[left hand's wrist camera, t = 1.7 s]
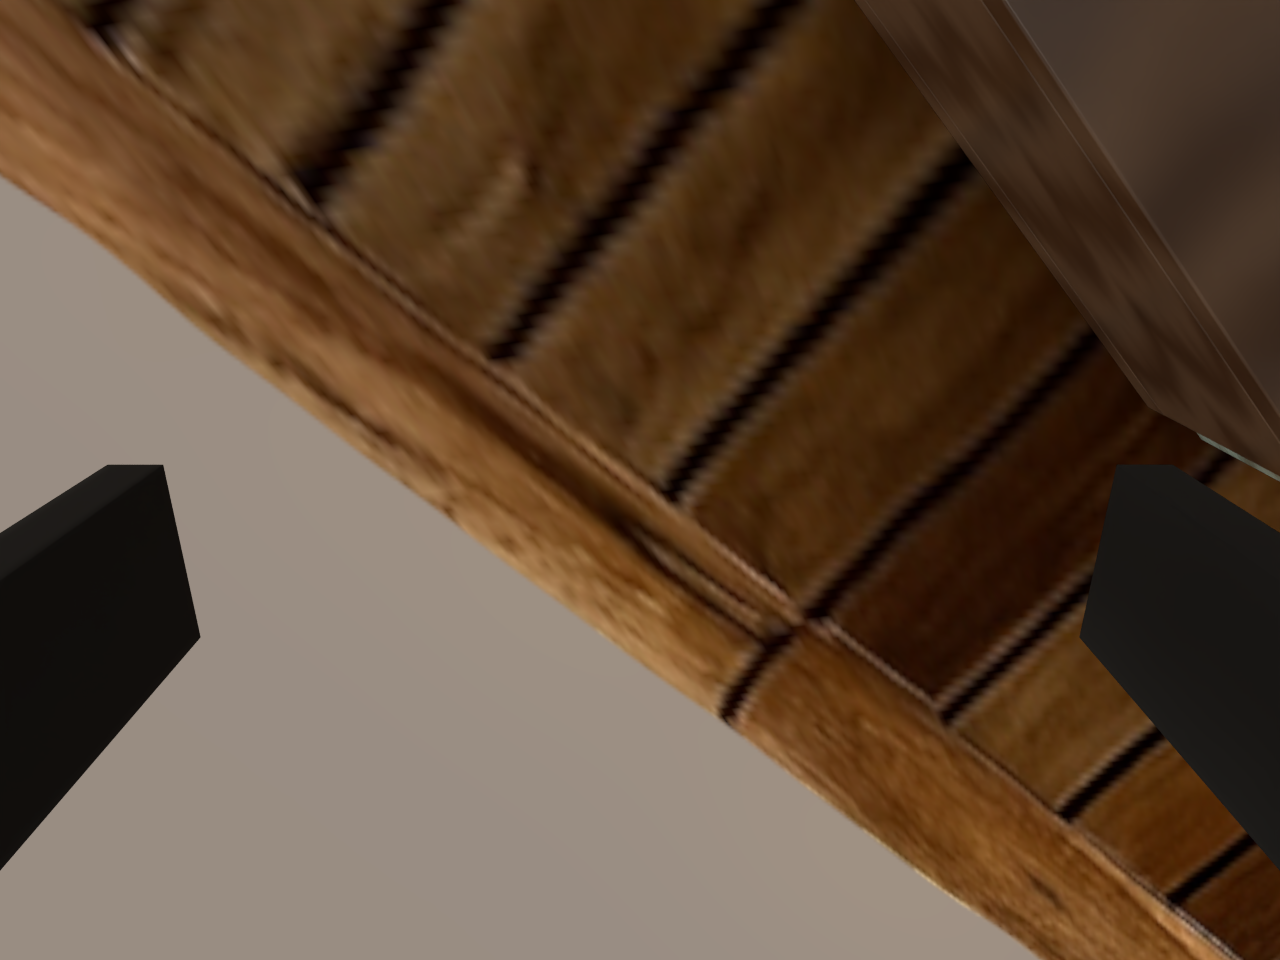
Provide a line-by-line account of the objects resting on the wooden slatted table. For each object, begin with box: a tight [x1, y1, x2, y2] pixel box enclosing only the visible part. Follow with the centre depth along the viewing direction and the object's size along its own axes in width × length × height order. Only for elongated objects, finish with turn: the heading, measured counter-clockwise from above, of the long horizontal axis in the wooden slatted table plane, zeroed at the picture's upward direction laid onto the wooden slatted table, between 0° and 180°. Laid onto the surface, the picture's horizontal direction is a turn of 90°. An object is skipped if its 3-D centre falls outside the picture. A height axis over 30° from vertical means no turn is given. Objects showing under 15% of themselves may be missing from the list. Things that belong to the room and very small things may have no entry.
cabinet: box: [855, 0, 1280, 476], centre depth 26 cm, size 21×11×10 cm, turn 42°
